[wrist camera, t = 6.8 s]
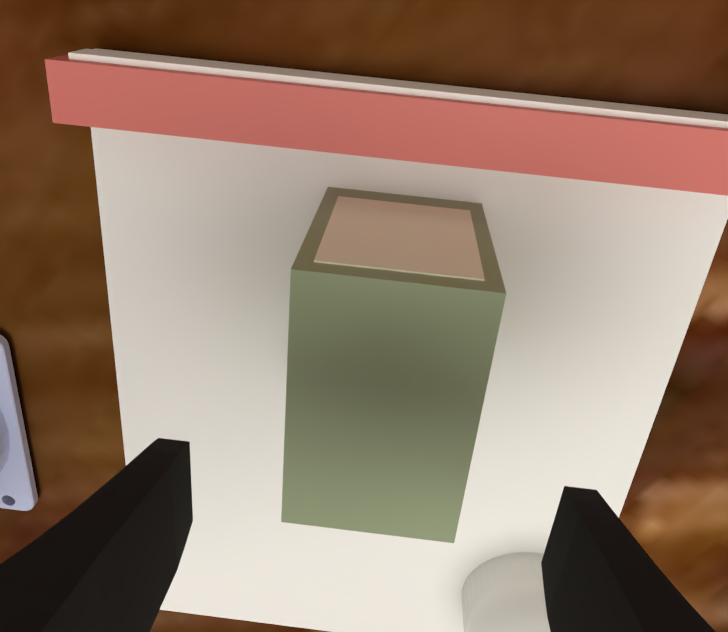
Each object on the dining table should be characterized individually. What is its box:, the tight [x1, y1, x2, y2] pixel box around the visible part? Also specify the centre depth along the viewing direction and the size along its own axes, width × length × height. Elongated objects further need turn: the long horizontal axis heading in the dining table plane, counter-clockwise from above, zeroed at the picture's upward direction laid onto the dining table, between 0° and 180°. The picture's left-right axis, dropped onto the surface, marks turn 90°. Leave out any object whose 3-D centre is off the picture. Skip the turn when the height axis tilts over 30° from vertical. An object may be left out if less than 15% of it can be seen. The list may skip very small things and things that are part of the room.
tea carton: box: [281, 187, 506, 543], centre depth 17 cm, size 7×4×6 cm, turn 175°
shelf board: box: [45, 48, 728, 632], centre depth 22 cm, size 18×22×3 cm
